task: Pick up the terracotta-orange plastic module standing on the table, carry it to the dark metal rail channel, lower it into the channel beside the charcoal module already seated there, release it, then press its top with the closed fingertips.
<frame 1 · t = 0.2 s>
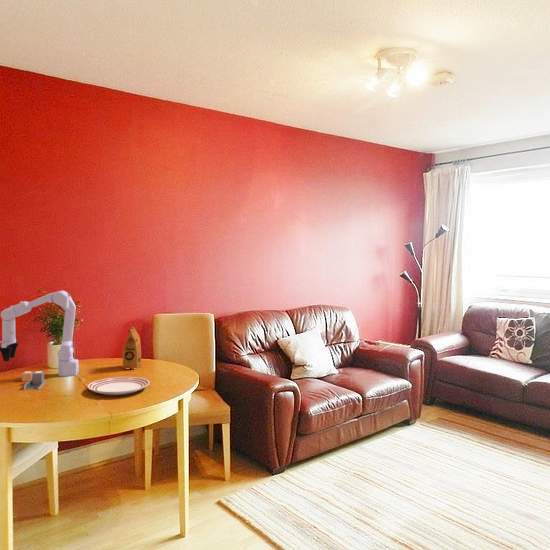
hand: (9, 359, 234), 10 cm above the table, tool pointing down, fingers open, 7 cm apart
dinner plate: (119, 390, 221), on the table
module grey: (38, 383, 224), point 1 cm above the table, touching rail
coffee package: (131, 367, 263), on the table
rail: (35, 388, 220), on the table
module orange: (27, 382, 229), on the table
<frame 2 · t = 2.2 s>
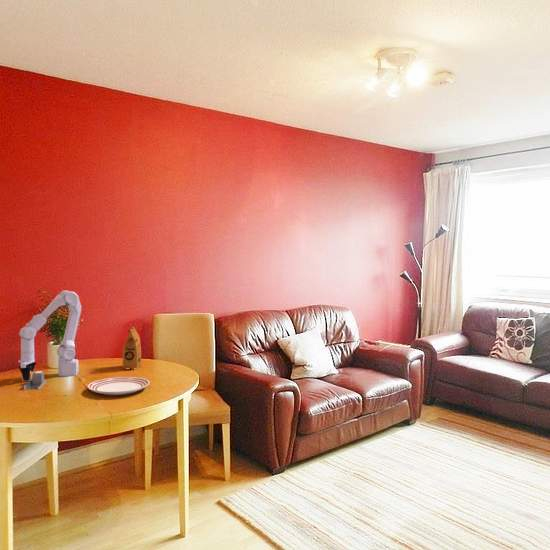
hand: (27, 379, 229), 2 cm above the table, tool pointing down, fingers closed on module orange, 4 cm apart
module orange: (27, 382, 229), on the table, touching gripper
everything else where it was.
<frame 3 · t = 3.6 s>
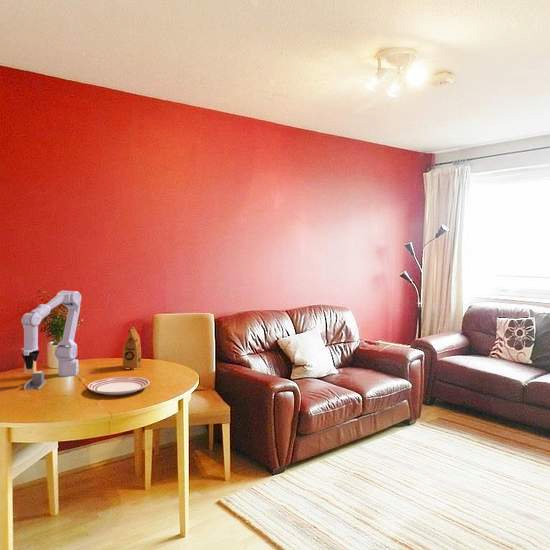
hand: (30, 367, 220), 10 cm above the table, tool pointing down, fingers closed on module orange, 4 cm apart
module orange: (30, 372, 220), point 7 cm above the table, touching gripper
everything else where it was.
when the fingers open (4 cm above the table, at t = 5.3 s): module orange stays where it is, resting on rail.
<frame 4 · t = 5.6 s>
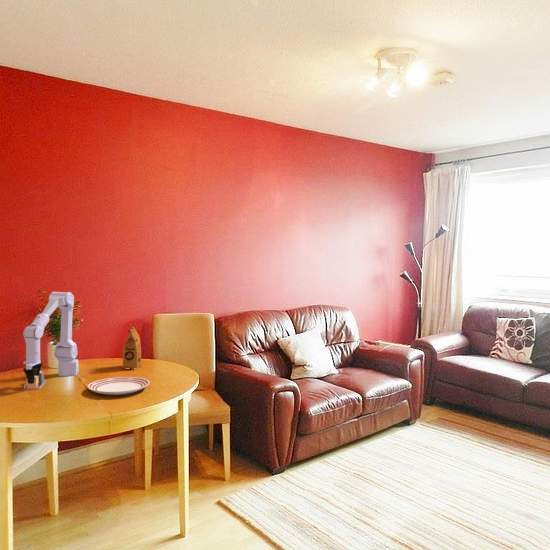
hand: (33, 381, 216), 4 cm above the table, tool pointing down, fingers open, 6 cm apart
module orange: (32, 387, 216), point 1 cm above the table, touching rail
everything else where it was.
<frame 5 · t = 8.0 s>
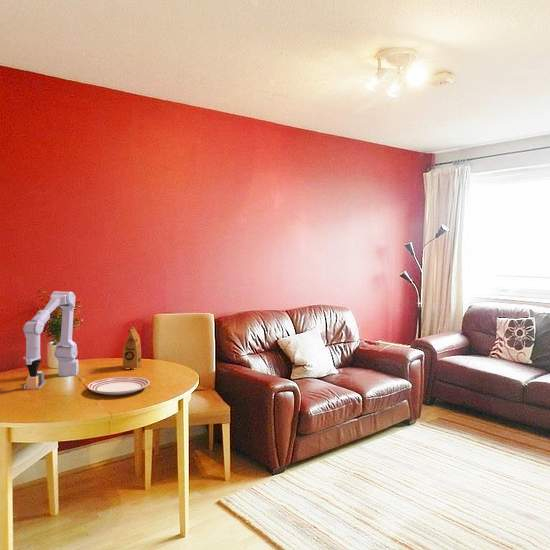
hand: (33, 376, 216), 6 cm above the table, tool pointing down, fingers closed, pressing on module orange
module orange: (32, 387, 216), point 1 cm above the table, touching gripper, rail
everything else where it was.
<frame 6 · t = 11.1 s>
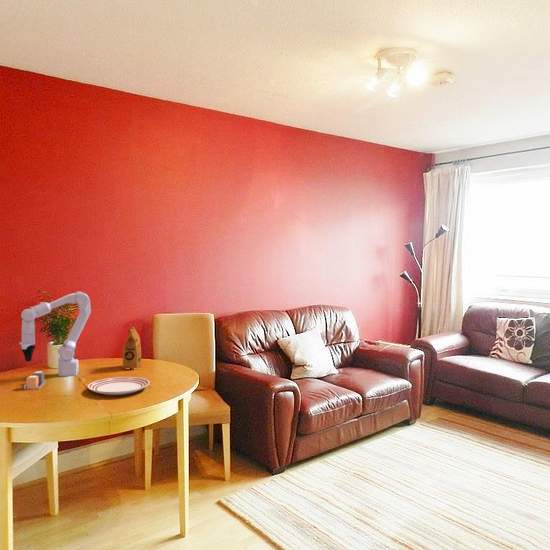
hand: (28, 361, 231), 10 cm above the table, tool pointing down, fingers closed
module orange: (32, 387, 216), point 1 cm above the table, touching rail
everything else where it was.
at the end: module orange 0.4 cm from the target spot on the rail, point 1.2 cm above the rail's base; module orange tilted 0°; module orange touching rail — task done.
